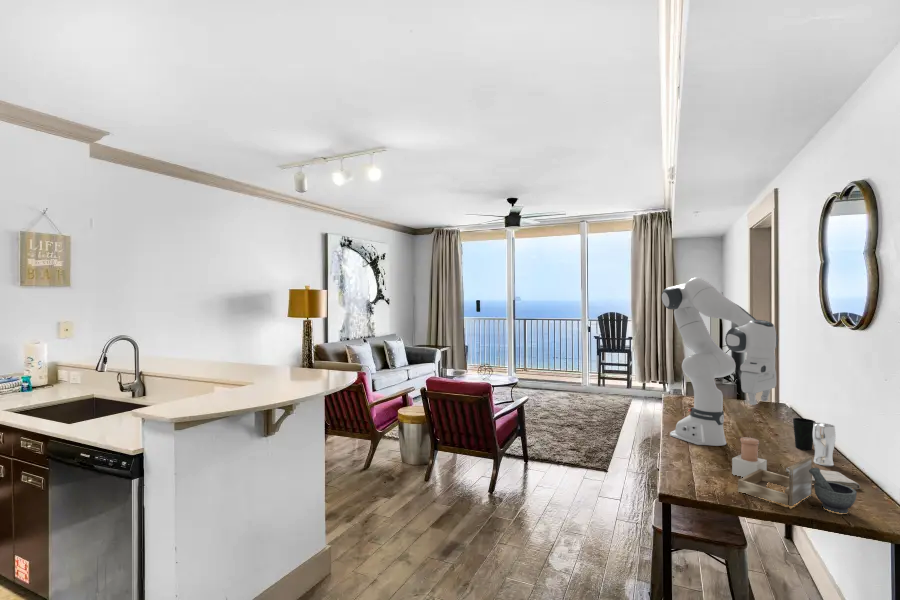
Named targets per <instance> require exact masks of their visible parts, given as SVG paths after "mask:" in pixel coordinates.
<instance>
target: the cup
mask: <svg viewBox="0 0 900 600" xmlns="http://www.w3.org/2000/svg"><path fill="white" fill-rule="evenodd" d="M792 423H793V424H792V426H793V435H794V444H795V446H794V447H795V448H796V449H798V450H801V451H808V452H809V451H812V450H813V447H814V443H813V436H812V433H813V423H817V422H816V420H814V419H810V418H803V417H794V418H792Z"/></svg>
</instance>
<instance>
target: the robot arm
mask: <svg viewBox="0 0 900 600" xmlns="http://www.w3.org/2000/svg"><path fill="white" fill-rule="evenodd" d="M661 301H662V304H663V306H664V307H665V308H666V309H667V310H673V316H674V320H675V325H676V326H677V329H678V332H679V335H680V336H681V339H682V340H683V343H684V345H685V346H686V348H688V349H690V350H691V351H693V352H694V354H692V355H688V356H686V357H684V359H683V360H682V363H681V370H682V371H683V373H684V375H685V376H686V377H687V378H689V380H690V383H691V385H692V388H693V398H694V399H693V405H694V406H693V407H691V408H689V409H687V410H688V412H689V414H688V415H687V416H685V417H684V418H682V419H680V420H678V421H677V423H676V424H675V429H674V430H672V431H670V432H669V436H670V437H673V438H676V439H679V440H682V441H685V442H688V443H690V444H694V445H698V446H712V447H713V446H716V447H719V446H725V445H727V440H726V436H725V431H724V421H725V412H724V410H723V409H724V408H723V406H724V404H723V403H724V401H723V400H724V399H723V398H724V395H723V392H722V390H720V389H719V388H718V387H717V384H716V381H715V379H717V378H724V377H727V376H730V375H732V374H733V373H734V372H735V371H736V368H737V367H736V365H737V364H736V362H735V361H736V360H735V358H733V357H732V356H731V355H729V354H728V353H726V352H725V351H724V350H723V349H722V348H721V347H720V346H719V345H718V344H717V343H716V342H715V341H714V339H713V337H712V336H711V334H710V331H709V330H708V328H707V326H706V323H705V322H704V320H703V318H702V316H701V314H702V315H703V316H705V317H709V318H714V319H715V318H716V319H720V320H725V321H729V322H732V323H733V324H735V325H737V327H732V328H730V329H728V331H727V332H726V333H725V337H724V338H725V344H726V346H727V348H728V349H729V350H730V351H732V352H735V353H746V355H745V356H746V359H745V360H744V361H743V362H742V363H741V364H740V367H739V369H740V371H741V375H740V385H741V386H740V387H741V391H742V392H743V393H745V394H747V396H748V399H749V401H748V402H749V405H751V406H755V405H757V404H758V403H757V402H758V400H757V399H756V396H757V394H758V393H762V394H761V395H760V400H761V401H762V402H768V401H769V396H770V394H771V390H772V389H775V388H776V386H777V371H776V358H777V357H776V354H775V349H777V347H778V345H779V337H778V334H777V332H776V331H777V330H776V327H775V325H774V323H772V322H770V321H768V320H764V319H763V320H762V319H756V317H754V316H753V315H752V314H750V313H749V312H748V311H746V309H744V308H743V307H741V306H740V305H738V304H737V303H735V302H733V301H731V300H730V299H729V298H728V297H726V296H725V295H723V294H722V293H721V292H720V291H719V290H718V289H717V288H716V287H715V286H714V285H712V283H710V282H709V281H707V280H705V279H704V278H702V277H693V278H691V279H689V280H687V282H683V283H680V284H678V285H673V286H668V287H667V288H665V289H663V290H662V293H661Z"/></svg>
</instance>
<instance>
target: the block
mask: <svg viewBox="0 0 900 600" xmlns="http://www.w3.org/2000/svg"><path fill="white" fill-rule="evenodd" d="M731 461H732V462H731V464H732V465H731V466H732V467H731V475H732V474H733V475H732V476H735V475H737V476H736V477H738V476H741V477H740V478H742V477H745V476H747V475H749V474H751V473H753V472H755V471H757V470H759V469H762V470H766V471H768V470H767V469H768V464H767V463H768V462H767V459H764V458H760V457H758V461H756V462H752V461H746V460H743V459H742V458H741V454H739V455H736V456H734V457H732V459H731Z"/></svg>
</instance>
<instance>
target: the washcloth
mask: <svg viewBox="0 0 900 600" xmlns="http://www.w3.org/2000/svg"><path fill="white" fill-rule="evenodd" d="M789 467H790V466H787V467H786V468H785V473H786V472H788V473H789ZM788 473H787V474H788ZM820 473H821V474H822V475H823V477H824V478H825V479H826V481H827V482H833V483H839V484H842V485H845V486H848V487H851V488H854V490H859V489H860V488H861V485H860V484H859V483H858V482H856V481H854V480H852V479H850V478H848V477H847V476H846V475H844V474H842V473H841V472H839V471H834V470H825V469H820ZM815 483H816V481H815V479H814V477H813V476H812V484H815Z"/></svg>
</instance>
